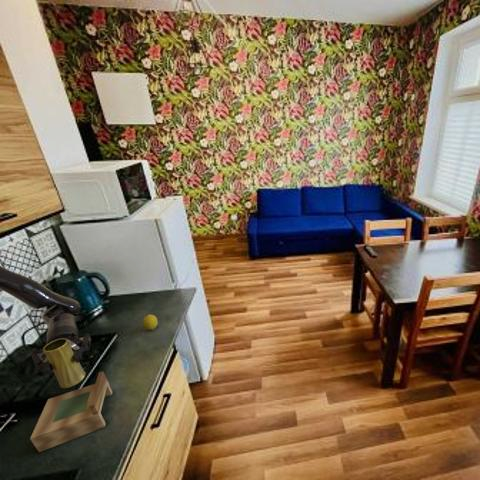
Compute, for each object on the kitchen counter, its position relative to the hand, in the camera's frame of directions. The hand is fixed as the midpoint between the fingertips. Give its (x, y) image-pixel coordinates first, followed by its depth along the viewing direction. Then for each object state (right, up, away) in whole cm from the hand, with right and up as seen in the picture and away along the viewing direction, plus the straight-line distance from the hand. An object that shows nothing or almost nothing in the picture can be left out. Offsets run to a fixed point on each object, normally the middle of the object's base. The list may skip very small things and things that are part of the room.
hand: (63, 365), depth 78 cm
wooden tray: (0, -19, +5) cm, 20 cm away
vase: (-2, -7, +5) cm, 9 cm away
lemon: (-1, -4, +42) cm, 42 cm away
